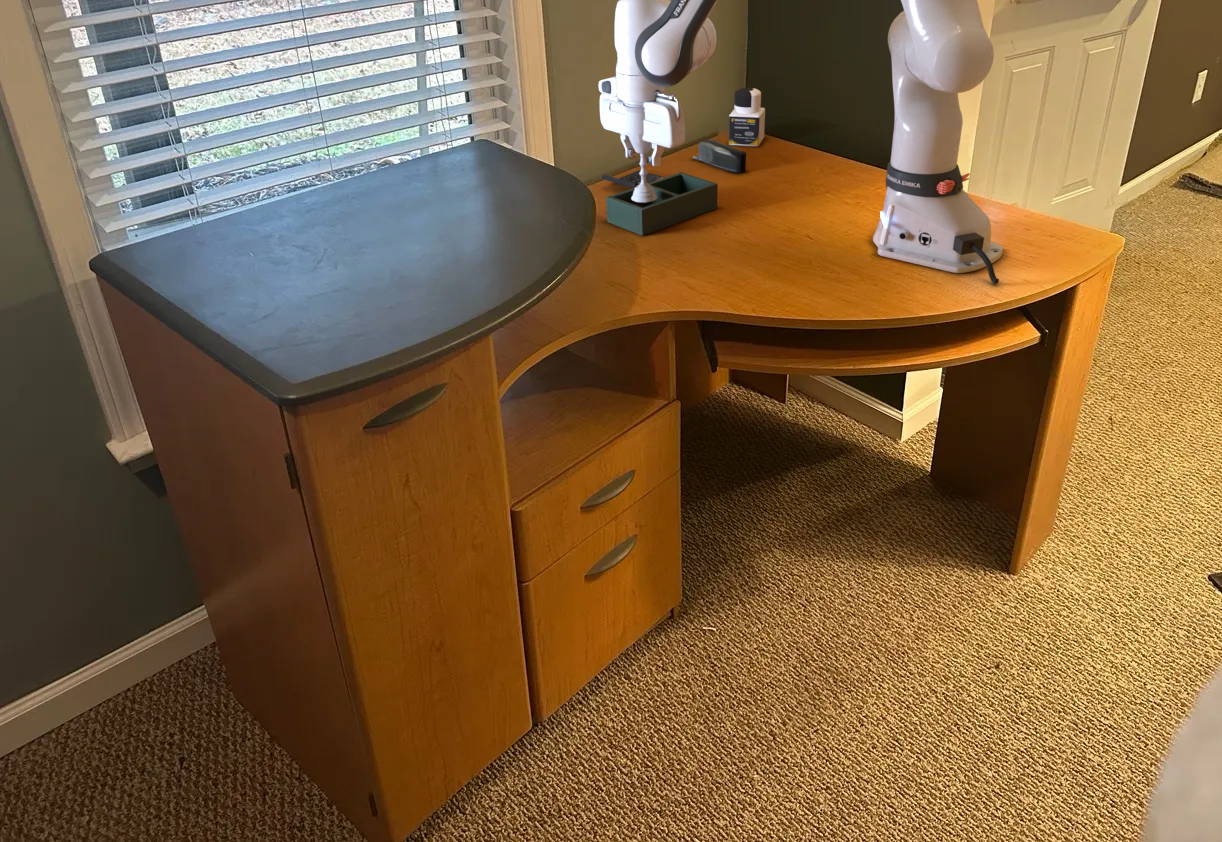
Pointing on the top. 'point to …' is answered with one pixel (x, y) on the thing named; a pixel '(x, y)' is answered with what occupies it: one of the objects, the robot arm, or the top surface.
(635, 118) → the chalice
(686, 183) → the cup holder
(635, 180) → the calculator
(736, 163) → the stapler
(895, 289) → the top surface
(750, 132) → the medicine bottle
